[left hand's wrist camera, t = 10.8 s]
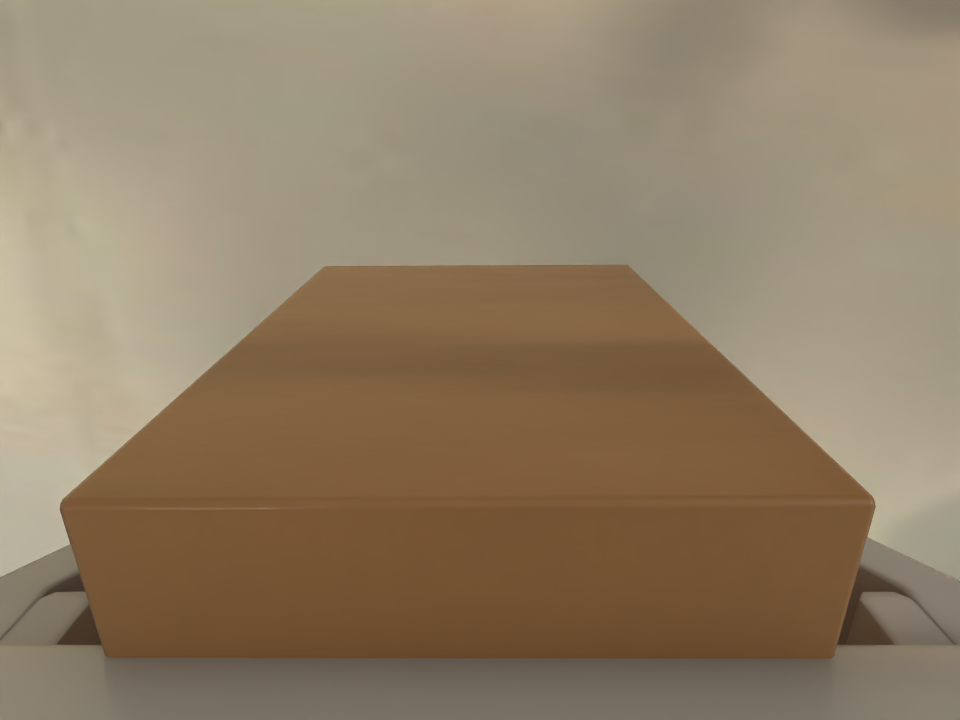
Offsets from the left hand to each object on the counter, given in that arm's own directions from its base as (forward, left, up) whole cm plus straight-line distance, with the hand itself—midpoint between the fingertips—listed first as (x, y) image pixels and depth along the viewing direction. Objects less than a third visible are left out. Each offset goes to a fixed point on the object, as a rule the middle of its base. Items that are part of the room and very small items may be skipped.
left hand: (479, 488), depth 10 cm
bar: (+7, +4, -3) cm, 9 cm away
